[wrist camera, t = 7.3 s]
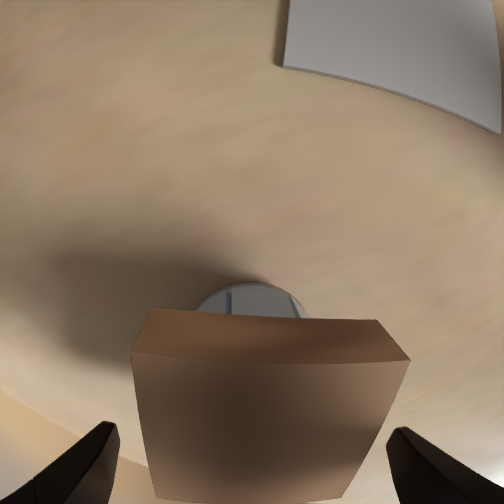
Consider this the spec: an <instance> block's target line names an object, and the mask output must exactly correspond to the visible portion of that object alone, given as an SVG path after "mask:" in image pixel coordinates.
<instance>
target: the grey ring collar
mask: <svg viewBox="0 0 504 504" xmlns="http://www.w3.org/2000/svg"><path fill="white" fill-rule="evenodd" d="M195 311H198V312H210V313H222V314H236V315H251V316H268V317H288V318H310V317H309V316H308V314H307V313H306V312H305V310H304V308H303V307H302V305H301V304H300V303H299V302H298V301H297V299H296V298H295V297H293V296H292V295H291V294H289V293H288V292H286V291H284V290H283V289H281V288H278V287H276V286H273V285H270V284H266V283H259V282H243V283H237V284H232V285H229V286H226V287H223V288H221V289H219V290H217V291H215V292H213V293H212V294H210V295H209V296H208V297H206V298H205V299H204V300H203V301H202V302H201V303H200V304H199V305H198V307H197V308H196V310H195Z"/></svg>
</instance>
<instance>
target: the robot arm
mask: <svg viewBox="0 0 504 504" xmlns="http://www.w3.org/2000/svg"><path fill="white" fill-rule="evenodd" d="M119 448H120V438H119V433H118V429H117V426H116V424H115V423H113V422H108V421H102V422H101V423H100V424H98V425H97V426H96V427H95V428H94V429H92V430H91V431H90V432H89V433H88V434H86V435H85V436H84V437H83V438H82V439H80V440H79V441H78V442H77V443H76V444H74V445H73V446H72V447H71V448H69V449H68V450H67V451H66V452H65V453H63V454H62V455H61V456H60V457H58V458H57V459H56V460H55V461H53V462H52V463H51V464H50V465H48V466H47V467H46V468H45V469H44V470H42V471H41V472H40V473H38V474H37V475H36V476H35V477H34V478H33V480H32V479H31V480H29V481H28V482H27V483H26V484H24V485H23V486H22V487H20V488H19V489H18V490H16V491H15V492H14V493H12V494H10V495H9V496H7V497H5V498H4V499H2V500H0V504H108V502H109V498H110V495H111V491H112V487H113V484H114V477H115V471H116V466H117V460H118V454H119ZM386 451H387V455H388V460H389V464H390V469H391V474H392V479H393V483H394V486H395V489H396V492H397V495H398V498H399V501H400V504H504V488H503V487H501V486H499V485H497V484H495V483H493V482H492V481H490V480H488V479H486V478H485V477H483V476H481V475H480V474H478V473H476V472H475V471H473V470H472V469H470V468H468V467H467V466H465V465H464V464H462V463H461V462H459V461H457V460H456V459H454V458H453V457H451V456H450V455H448V454H447V453H445V452H444V451H442V450H441V449H439V448H438V447H436V446H435V445H433V444H432V443H430V442H429V441H427V440H426V439H424V438H423V437H421V436H420V435H418V434H417V433H415V432H414V431H412V430H411V429H409V428H408V427H398V428H396V429H394V431H393V433H392V434H391V436H390V438H389V440H388V442H387V444H386Z"/></svg>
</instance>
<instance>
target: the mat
mask: <svg viewBox="0 0 504 504" xmlns="http://www.w3.org/2000/svg"><path fill="white" fill-rule="evenodd" d="M282 68H288V69H294V70H299V71H305V72H310V73H315V74H320V75H325V76H330V77H334V78H339V79H343V80H347V81H351V82H355V83H359V84H363V85H367V86H370V87H374V88H378V89H381V90H384V91H388V92H391V93H394V94H397V95H401V96H404V97H407V98H410V99H413V100H416V101H419V102H421V103H424V104H427V105H430V106H432V107H435V108H438V109H440V110H443V111H445V112H448V113H450V114H453V115H455V116H458V117H460V118H462V119H465V120H467V121H469V122H472V123H474V124H476V125H478V126H481V127H483V128H485V129H487V130H489V131H491V132H493V133H495V134H501V123H502V89H501V68H500V56H499V46H498V37H497V30H496V23H495V17H494V11H493V6H492V1H491V0H290V1H289V10H288V19H287V29H286V38H285V47H284V57H283V66H282Z"/></svg>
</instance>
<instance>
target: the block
mask: <svg viewBox="0 0 504 504" xmlns="http://www.w3.org/2000/svg"><path fill="white" fill-rule="evenodd" d="M131 359H132V368H133V377H134V385H135V392H136V399H137V406H138V412H139V419H140V424H141V430H142V436H143V441H144V446H145V451H146V456H147V461H148V466H149V470H150V474H151V479H152V483H153V487H154V491H155V495H156V498H159V499H166V500H174V501H182V502H192V503H205V504H291V503H304V502H314V501H322V500H330V499H337V498H341V497H342V496H343V494H344V492H345V491H346V489H347V488H348V486H349V485H350V483H351V481H352V480H353V478H354V476H355V475H356V473H357V471H358V469H359V468H360V466H361V464H362V463H363V461H364V459H365V457H366V455H367V454H368V452H369V450H370V448H371V446H372V444H373V442H374V440H375V439H376V437H377V435H378V433H379V431H380V429H381V427H382V425H383V423H384V421H385V419H386V416H387V414H388V412H389V410H390V408H391V406H392V404H393V401H394V399H395V397H396V395H397V392H398V390H399V388H400V385H401V383H402V381H403V378H404V376H405V373H406V371H407V368H408V366H409V363H410V359H409V357H408V356H407V355H406V354H405V353H404V351H403V350H402V349H401V348H400V347H399V345H398V344H397V343H396V342H395V341H394V339H393V338H392V337H391V336H390V335H389V333H388V332H387V331H386V330H385V329H384V327H383V326H382V325H381V324H380V323H379V322H378V320H353V319H313V318H288V317H268V316H251V315H236V314H222V313H210V312H198V311H187V310H176V309H166V308H156V307H152V308H151V310H150V312H149V314H148V316H147V318H146V321H145V323H144V325H143V327H142V329H141V331H140V333H139V335H138V337H137V339H136V341H135V344H134V346H133V348H132V350H131Z"/></svg>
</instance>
